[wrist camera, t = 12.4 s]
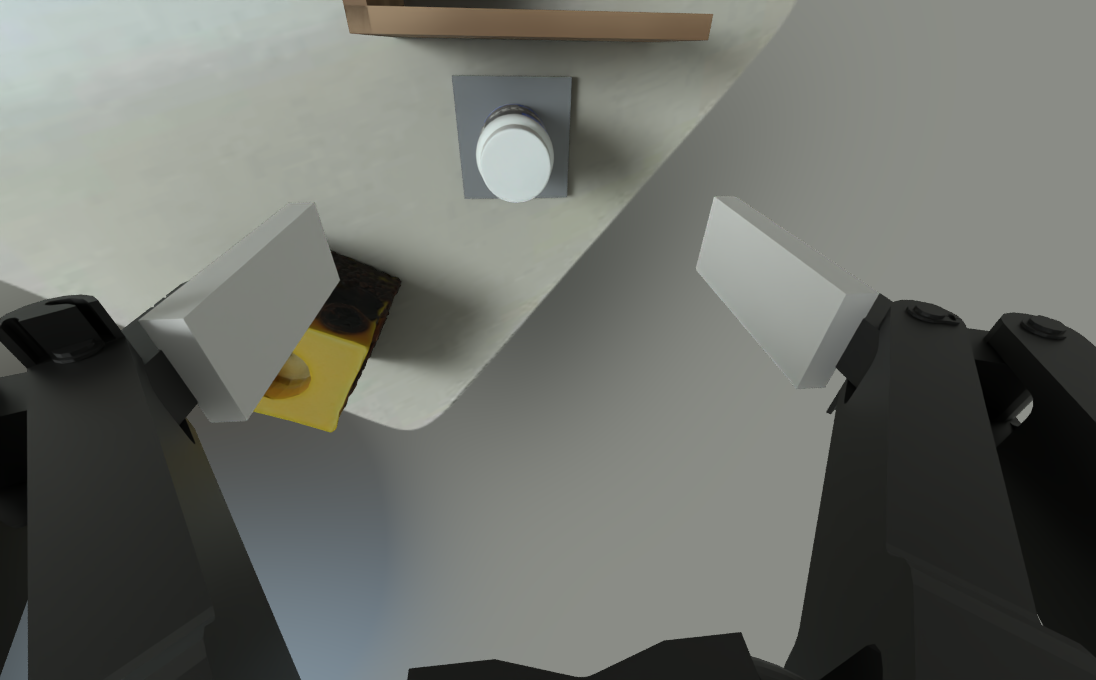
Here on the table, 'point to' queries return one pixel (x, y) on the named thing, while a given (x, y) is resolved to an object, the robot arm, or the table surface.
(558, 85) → the slate coaster
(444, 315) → the table surface
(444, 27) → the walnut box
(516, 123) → the pill bottle
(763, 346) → the robot arm
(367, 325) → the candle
